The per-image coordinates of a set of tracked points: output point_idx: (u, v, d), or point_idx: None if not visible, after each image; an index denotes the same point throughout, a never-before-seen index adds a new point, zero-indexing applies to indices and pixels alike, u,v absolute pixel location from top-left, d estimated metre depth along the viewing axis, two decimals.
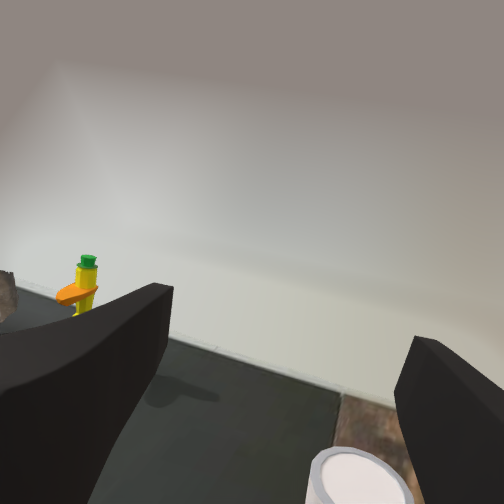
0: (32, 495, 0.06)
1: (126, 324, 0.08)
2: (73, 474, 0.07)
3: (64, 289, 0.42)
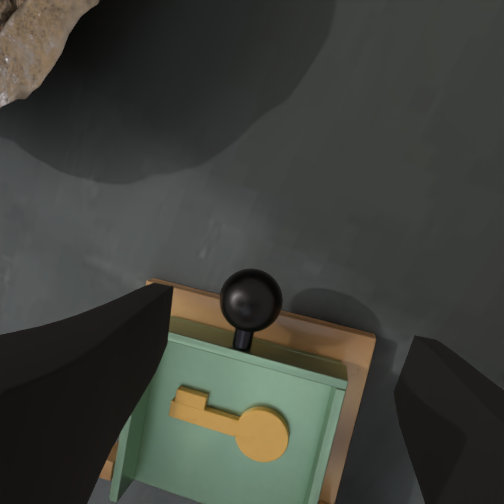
0: (32, 495, 0.06)
1: (126, 325, 0.08)
2: (73, 474, 0.07)
3: None
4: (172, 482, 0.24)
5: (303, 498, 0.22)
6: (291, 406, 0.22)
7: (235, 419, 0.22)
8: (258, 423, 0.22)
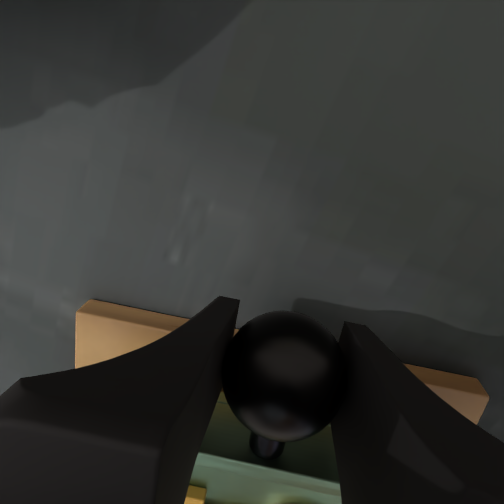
0: None
1: (215, 343, 0.08)
2: (179, 498, 0.07)
3: None
4: None
5: None
6: None
7: None
8: None
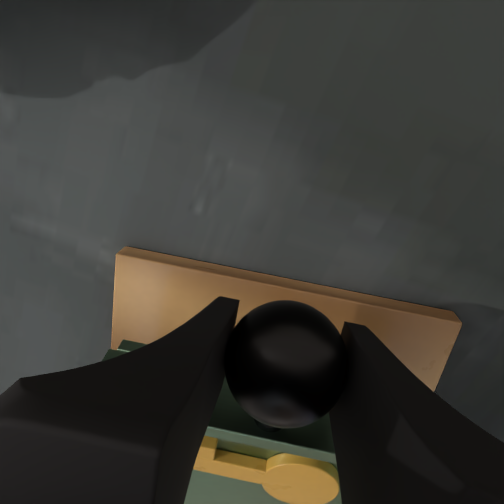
0: None
1: (215, 343, 0.08)
2: (178, 497, 0.07)
3: None
4: None
5: None
6: None
7: (261, 469, 0.15)
8: (295, 475, 0.15)
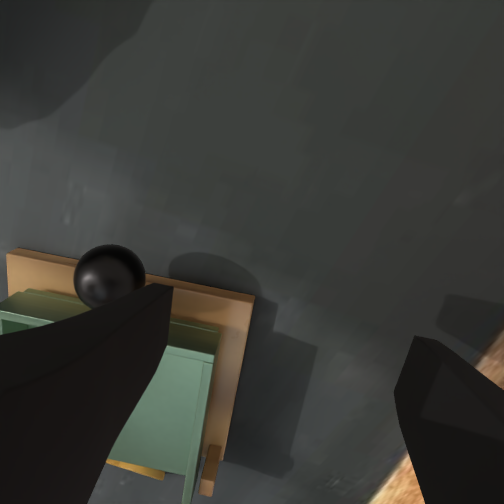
0: (32, 495, 0.06)
1: (126, 324, 0.08)
2: (73, 474, 0.07)
3: None
4: None
5: None
6: (172, 371, 0.22)
7: (116, 464, 0.25)
8: None
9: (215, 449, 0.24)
